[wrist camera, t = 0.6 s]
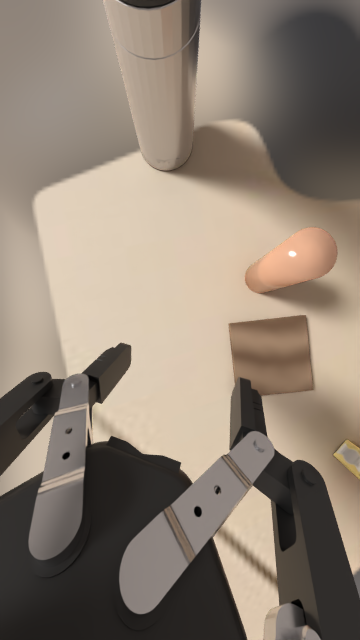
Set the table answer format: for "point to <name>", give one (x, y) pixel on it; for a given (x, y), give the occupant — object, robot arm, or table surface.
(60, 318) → the table surface
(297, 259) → the orange tan cylinder
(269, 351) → the walnut pad
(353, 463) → the candy box
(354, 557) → the table surface
